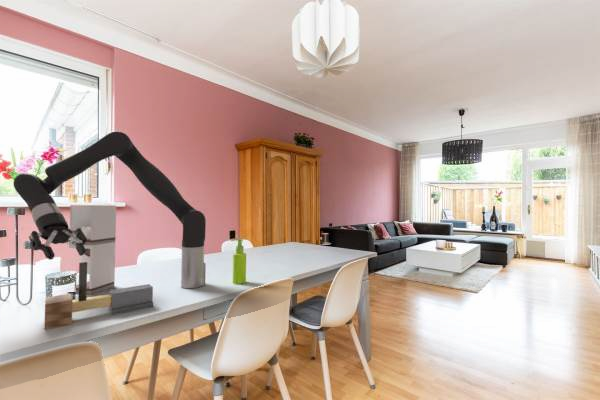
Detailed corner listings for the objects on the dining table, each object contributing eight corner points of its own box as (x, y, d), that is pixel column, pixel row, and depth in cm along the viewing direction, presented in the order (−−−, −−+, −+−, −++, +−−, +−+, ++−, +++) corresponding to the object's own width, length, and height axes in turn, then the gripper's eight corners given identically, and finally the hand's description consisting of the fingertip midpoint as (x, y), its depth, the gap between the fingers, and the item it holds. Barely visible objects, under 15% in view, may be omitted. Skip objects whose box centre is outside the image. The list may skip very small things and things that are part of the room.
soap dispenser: (231, 281, 133) (232, 238, 133) (246, 280, 134) (247, 238, 134) (229, 284, 127) (230, 239, 128) (245, 284, 128) (245, 239, 128)
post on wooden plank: (125, 300, 97) (126, 257, 98) (127, 302, 95) (128, 258, 95) (56, 312, 85) (58, 264, 86) (56, 315, 83) (58, 265, 84)
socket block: (70, 315, 90) (71, 293, 90) (71, 323, 83) (72, 299, 84) (45, 320, 86) (45, 297, 86) (44, 329, 80) (45, 304, 80)
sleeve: (148, 301, 104) (148, 283, 104) (153, 306, 98) (153, 287, 98) (108, 309, 96) (109, 289, 96) (111, 315, 90) (112, 294, 91)
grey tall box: (92, 284, 125) (95, 205, 126) (114, 286, 123) (116, 205, 124) (67, 292, 113) (70, 205, 114) (91, 294, 112) (93, 205, 113)
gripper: (27, 212, 89) (46, 251, 84) (77, 211, 102) (96, 245, 97) (17, 228, 91) (35, 267, 86) (68, 225, 104) (86, 259, 99)
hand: (68, 255), depth 92 cm, fingers open, 8 cm apart
